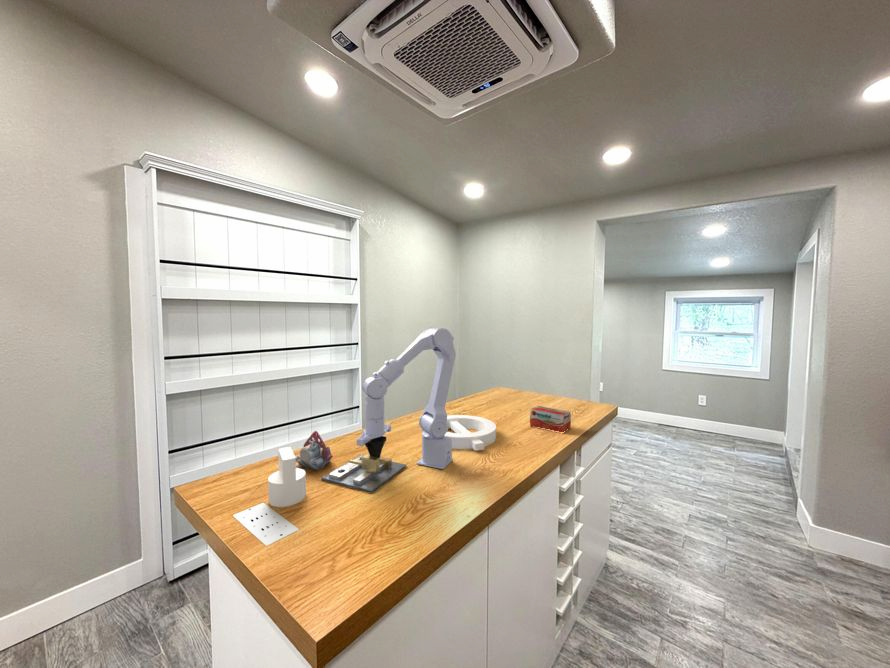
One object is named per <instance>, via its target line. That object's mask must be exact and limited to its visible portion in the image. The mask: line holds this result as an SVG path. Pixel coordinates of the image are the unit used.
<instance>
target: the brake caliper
mask: <svg viewBox="0 0 890 668" xmlns="http://www.w3.org/2000/svg"><path fill="white" fill-rule="evenodd" d="M295 457H296V468H298V467H305V468H308V469H314V470H320V469H323V468H325V466H326V465H328V464H329V463H330V461H331V460H332V458H333V457H334V455H332V452H331V447H330V446H326V443H325V442H324V439H323V438H322V436H321V435H320V433H319V431H317V430H315V431H313V432H312V433H311V434H310V435H309V437H308V438H307V440H306V441H305V442H304V444H303V447H302V448H301V449H300V452H299V454H297V455H295Z"/></svg>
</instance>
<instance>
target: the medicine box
mask: <svg viewBox="0 0 890 668" xmlns="http://www.w3.org/2000/svg"><path fill="white" fill-rule="evenodd" d="M529 414H530V415H529V423H530V424H529V425H530V427H531V426H535V427H540V428H545V429H550V430H554V431H559V432H564V431H566V430H567V429H569V428H570V429H571V426H572V425H571V423H572V420H571V419H572V418H571V417H572V414H571V411H569V410H564V409H558V408H553V407H547V406H542V405H537V406H534V407H531V408H530V413H529ZM535 427H534V428H535ZM540 428H539V429H540ZM570 429H569V430H570ZM566 432H567V431H566Z"/></svg>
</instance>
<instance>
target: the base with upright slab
mask: <svg viewBox="0 0 890 668" xmlns="http://www.w3.org/2000/svg"><path fill="white" fill-rule="evenodd" d="M291 447H292V446H288V447H287V446H286V447H281V448H278V451H277V452H278V470H277V471H275V472H273V473H272V474H270V475H269V476H268V478H267V482H268V485H267V487H268V488H267V489H268V504H269V503H270V504H271V505H270V504H269V505H270V506H272V507H274V506H275V508H283V507H284V508H286V507H290V505H291V506H294V505H296V504H298V503H301V502H302V501H303V500H305V498H306V496H307V484H306V483H307V481H306V480H307V479H306V477H307V475H306V474H307V473H306V470H305V469H304V468H303V469H302V468H298V467H296V465H297V462H296V457H295V456H296V455H295V454H294V451H293V449H292V448H291ZM293 504H294V505H293Z"/></svg>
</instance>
